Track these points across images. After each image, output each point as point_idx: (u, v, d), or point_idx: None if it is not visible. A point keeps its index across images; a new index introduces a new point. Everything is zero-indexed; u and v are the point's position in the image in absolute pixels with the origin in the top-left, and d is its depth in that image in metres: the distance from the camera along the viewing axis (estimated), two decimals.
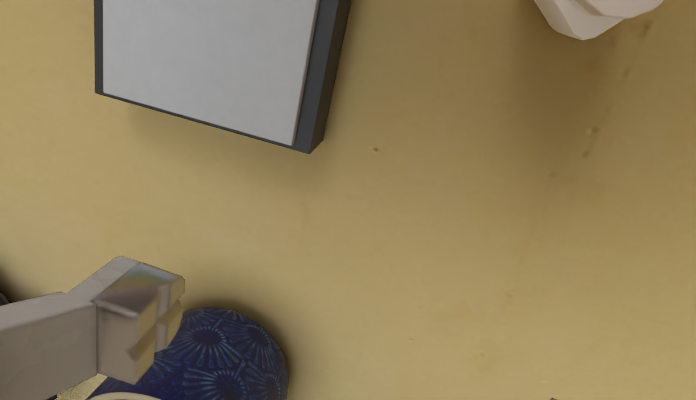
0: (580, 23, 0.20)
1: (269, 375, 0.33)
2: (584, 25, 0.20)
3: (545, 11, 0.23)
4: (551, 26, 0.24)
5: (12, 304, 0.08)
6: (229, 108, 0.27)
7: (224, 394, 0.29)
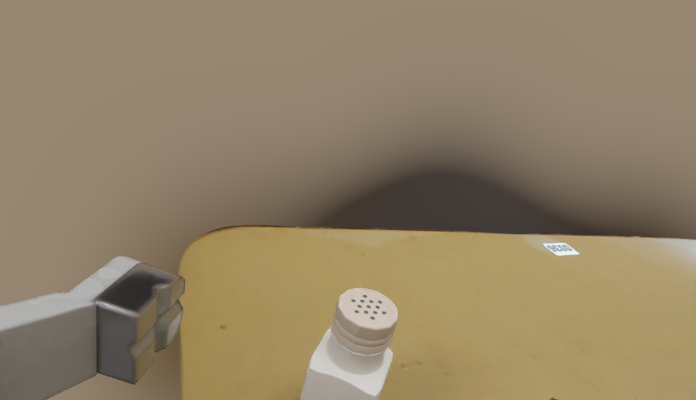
0: (387, 352, 0.26)
1: None
2: (386, 350, 0.26)
3: None
4: None
5: (12, 304, 0.08)
6: None
7: None
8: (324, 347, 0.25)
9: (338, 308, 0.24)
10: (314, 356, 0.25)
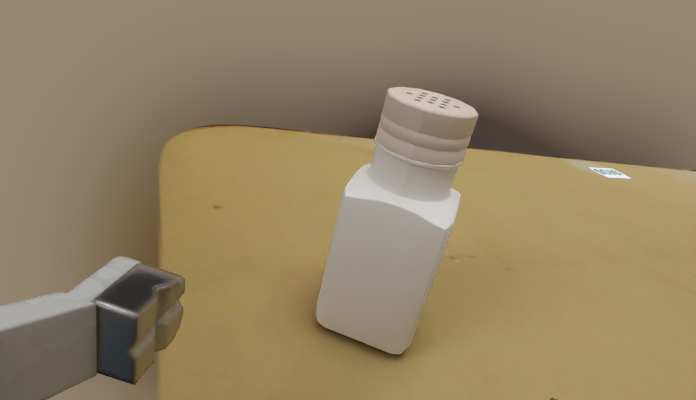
0: (453, 189, 0.18)
1: None
2: None
3: None
4: None
5: (12, 304, 0.08)
6: None
7: None
8: (365, 173, 0.17)
9: (389, 97, 0.16)
10: (351, 183, 0.17)
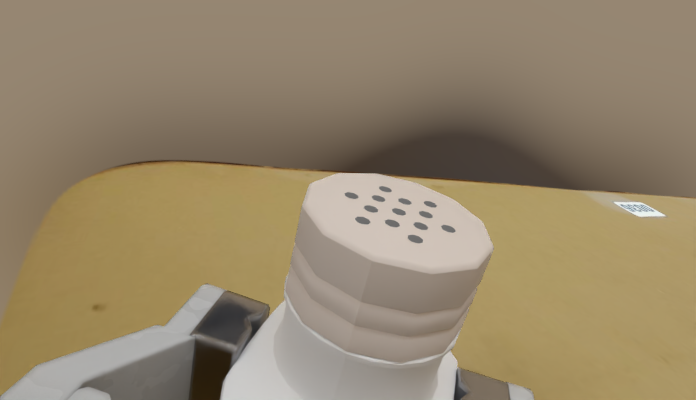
0: None
1: None
2: None
3: None
4: None
5: (116, 340, 0.08)
6: None
7: None
8: (271, 340, 0.09)
9: (303, 212, 0.07)
10: (238, 366, 0.09)
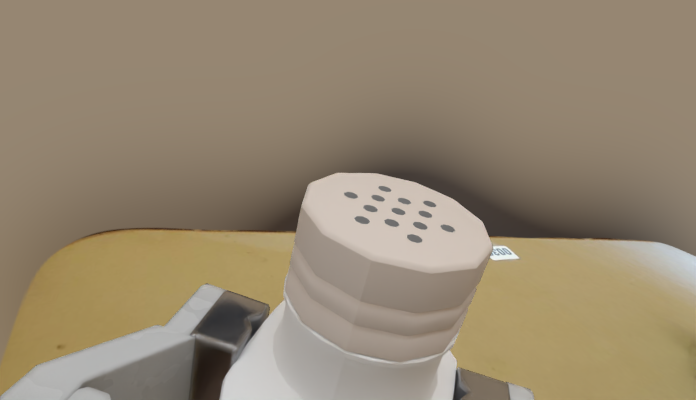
0: None
1: None
2: None
3: None
4: None
5: (116, 340, 0.08)
6: None
7: None
8: (271, 340, 0.09)
9: (303, 211, 0.07)
10: (238, 366, 0.09)
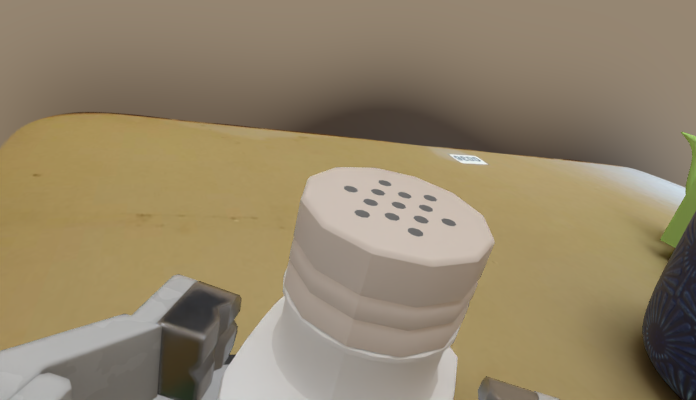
0: None
1: (659, 286, 0.27)
2: None
3: None
4: None
5: (81, 328, 0.08)
6: None
7: None
8: (270, 336, 0.09)
9: (302, 205, 0.07)
10: (236, 362, 0.08)
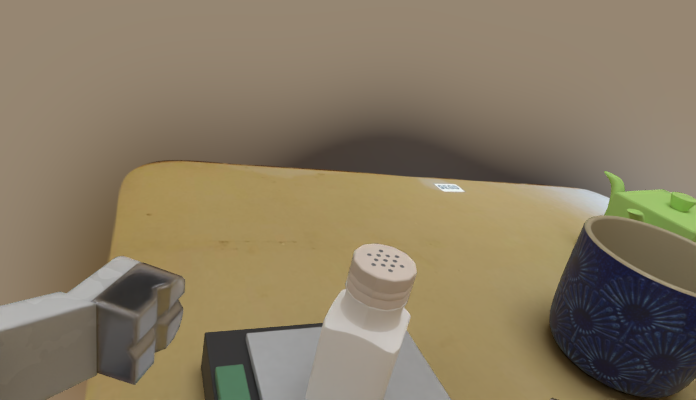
0: (404, 312, 0.25)
1: None
2: (403, 310, 0.25)
3: None
4: None
5: (12, 304, 0.08)
6: (410, 361, 0.31)
7: (577, 260, 0.39)
8: (339, 306, 0.24)
9: (354, 261, 0.23)
10: (328, 315, 0.24)
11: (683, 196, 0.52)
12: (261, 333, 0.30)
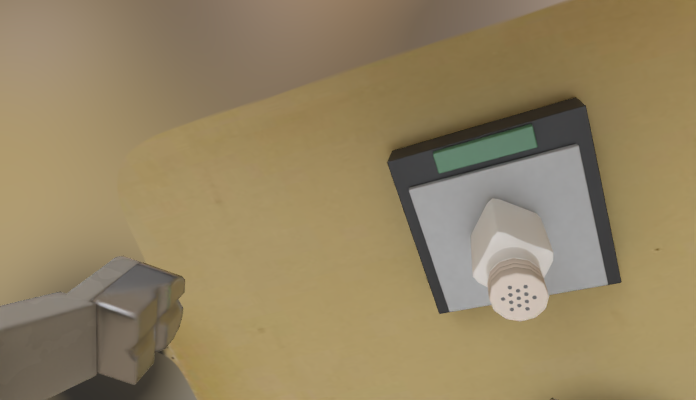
0: None
1: None
2: None
3: None
4: None
5: (12, 304, 0.08)
6: (549, 281, 0.36)
7: None
8: (515, 246, 0.29)
9: (514, 272, 0.26)
10: (507, 236, 0.29)
11: None
12: (579, 158, 0.32)
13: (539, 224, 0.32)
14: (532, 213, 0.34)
